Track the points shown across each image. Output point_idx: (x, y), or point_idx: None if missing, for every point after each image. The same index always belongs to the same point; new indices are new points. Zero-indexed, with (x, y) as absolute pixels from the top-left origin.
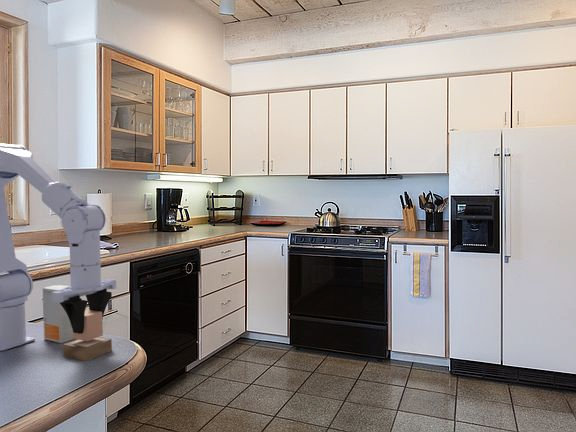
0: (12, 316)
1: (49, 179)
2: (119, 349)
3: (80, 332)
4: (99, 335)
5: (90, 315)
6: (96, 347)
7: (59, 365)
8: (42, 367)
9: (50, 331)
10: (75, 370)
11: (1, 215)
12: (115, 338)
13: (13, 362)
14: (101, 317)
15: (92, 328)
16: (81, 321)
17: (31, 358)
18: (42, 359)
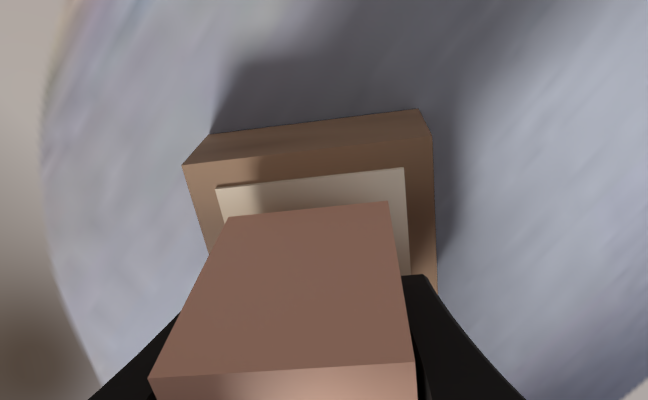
0: None
1: None
2: (161, 112)
3: (428, 279)
4: (259, 217)
5: (345, 363)
6: (333, 141)
7: (540, 188)
8: (598, 238)
9: None
10: (578, 20)
11: None
12: (81, 290)
13: (584, 394)
14: (186, 322)
15: (327, 256)
16: (456, 342)
17: (512, 376)
18: (503, 330)
